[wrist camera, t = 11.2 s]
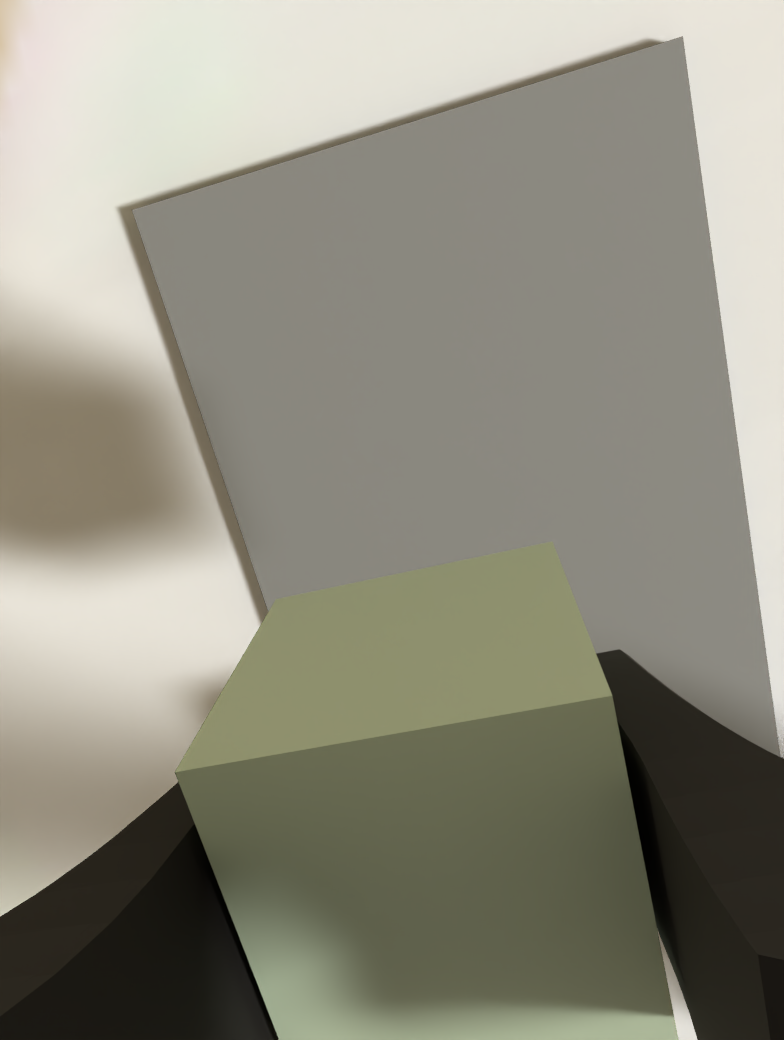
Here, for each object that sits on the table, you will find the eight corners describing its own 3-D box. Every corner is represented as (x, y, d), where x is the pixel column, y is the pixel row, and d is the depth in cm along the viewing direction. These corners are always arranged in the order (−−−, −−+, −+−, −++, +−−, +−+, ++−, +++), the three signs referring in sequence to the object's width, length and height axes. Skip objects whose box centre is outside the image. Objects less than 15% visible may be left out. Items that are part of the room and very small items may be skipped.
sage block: (602, 786, 12) (679, 1046, 8) (348, 825, 13) (296, 1085, 9) (552, 541, 11) (611, 696, 7) (276, 599, 12) (174, 771, 8)
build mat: (786, 845, 22) (795, 860, 22) (374, 907, 24) (372, 922, 24) (675, 43, 16) (683, 34, 16) (140, 212, 18) (130, 209, 18)
